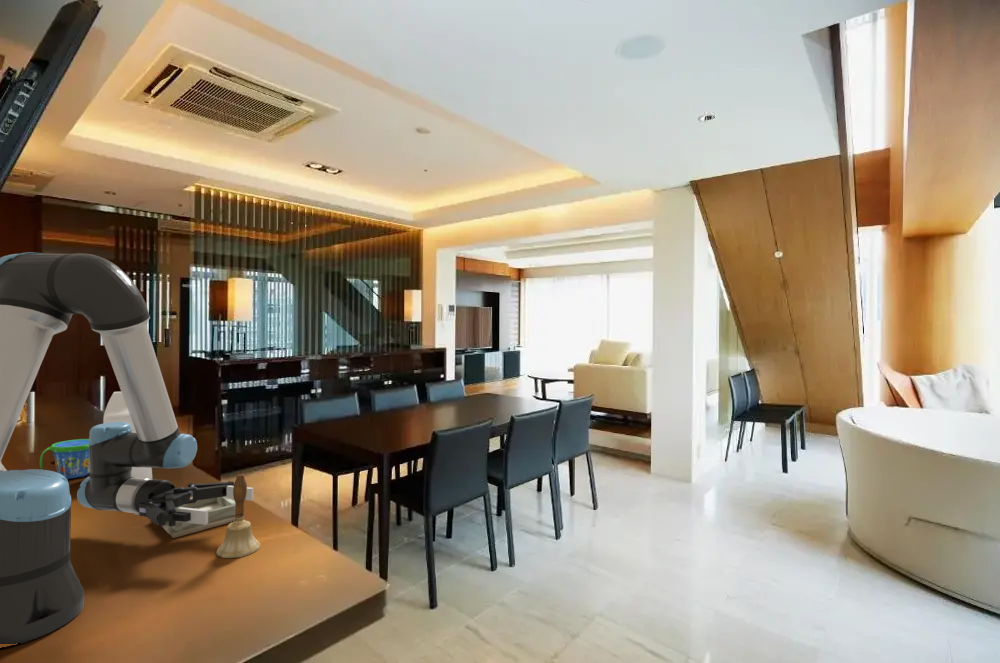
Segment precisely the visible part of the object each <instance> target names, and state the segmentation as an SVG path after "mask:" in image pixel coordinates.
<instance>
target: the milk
mask: <svg viewBox="0 0 1000 663" xmlns="http://www.w3.org/2000/svg"><path fill="white" fill-rule="evenodd" d="M102 422H103V423H102V424H104V423H110V422H126V423H129V424H130V425H131V430H132V433H136V430H135V427H134V425H133V422H132V419H131V416H130V414H129V411H128V408H127V405H126V403H125V400H124V397H123V394H122V392H121V391H113V393H112V394H111V396H110V398H109V400H108V402H107V405H106V407H105V410H104V412H103V420H102ZM131 472H132V473H131V476H132V477H139V478H151V479H153V468H148V467H132V470H131Z"/></svg>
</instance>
